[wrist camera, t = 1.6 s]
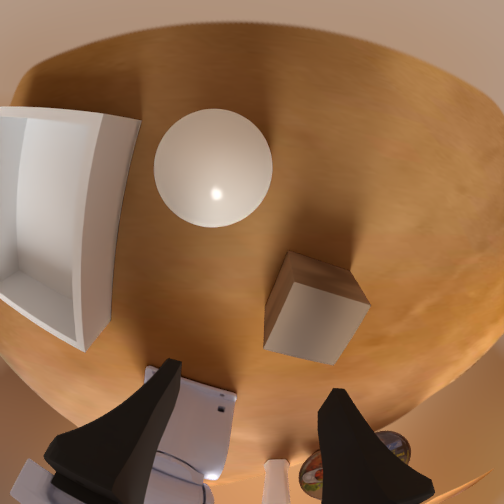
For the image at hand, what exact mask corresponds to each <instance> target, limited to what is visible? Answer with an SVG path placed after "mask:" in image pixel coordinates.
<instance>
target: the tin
mask: <svg viewBox="0 0 504 504" xmlns="http://www.w3.org/2000/svg"><path fill="white" fill-rule="evenodd" d="M375 434H376V435H377V436H378V438H379V439H380V440H381V441H382V442H383V443H384V444H385V445H386V446H387V447H388V449H389V450H390V451H391V452H393V453H394V454H395V455H396V456H397V457H398V458H399V459H400V460H402V461H403V462H404V463H405V464H407V465H408V463H409V461H410V457H411V448H410V445H409V443H408V441H407V440H406V439H405V437H403V436H402V435H401V434H399V433H396V432H392V431H380V432H376V433H375ZM299 483H300V486H301V488H302V489H303V491H304V492H305V493H307V494H308V495H309V496H311V497H313V498H316V499H319V500H322V488H323V468H322V459H321V451H320V450H319V451H317V452H315V453H314V454H312V455H311V456H310V457H309V458H308V459H307V460H306V461H305V462H304V463H303V465H302V467H301V469H300V472H299Z"/></svg>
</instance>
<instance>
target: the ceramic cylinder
mask: <svg viewBox="0 0 504 504" xmlns="http://www.w3.org/2000/svg"><path fill="white" fill-rule="evenodd" d="M154 177H155V183H156V186H157V189H158V192H159V194H160V196H161V198H162V199H163V201H164V202H165V204H166V205H167V206H168V207H169V209H170V210H171V211H172V212H174V213H175V214H176V215H177V216H179V217H180V218H181V219H183V220H185V221H187V222H189V223H192V224H194V225H198V226H203V227H222V226H227V225H231V224H233V223H236V222H238V221H240V220H242V219H244V218H245V217H247V216H248V215H249V214H251V213H252V212H253V211H254V210H255V209H256V208H257V207H258V206H259V204H260V203H261V202H262V200H263V199H264V197H265V195H266V193H267V191H268V189H269V186H270V182H271V178H272V157H271V152H270V149H269V146H268V144H267V141H266V139H265V138H264V136H263V135H262V133H261V132H260V131H259V129H258V128H257V127H256V126H255V125H254V124H253V123H252V122H251V121H249V120H248V119H246V118H245V117H243V116H241V115H239V114H237V113H235V112H232V111H228V110H223V109H205V110H200V111H196V112H193V113H191V114H189V115H187V116H185V117H183V118H181V119H180V120H178V121H177V122H176V123H175V124H174V125H172V126H171V127H170V129H169V130H168V131H167V132H166V133H165V135H164V136H163V138H162V140H161V142H160V144H159V146H158V149H157V151H156V155H155V160H154Z"/></svg>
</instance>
